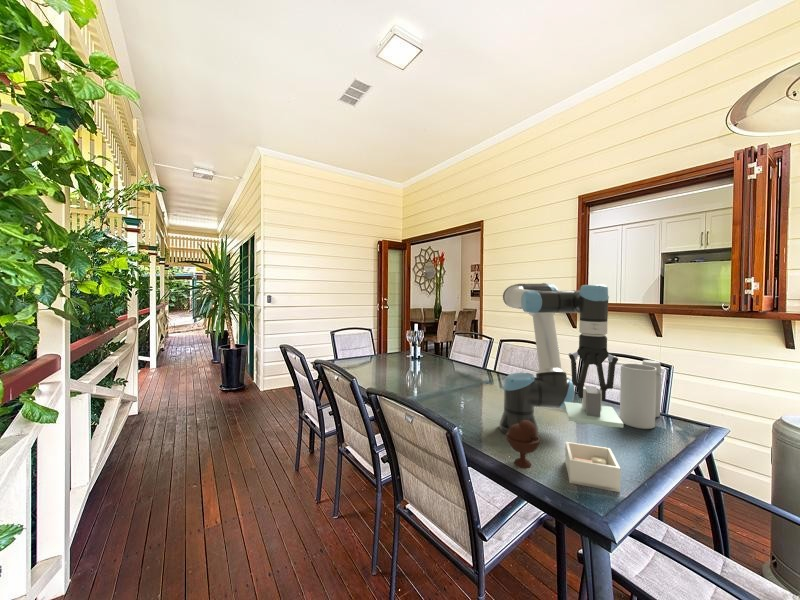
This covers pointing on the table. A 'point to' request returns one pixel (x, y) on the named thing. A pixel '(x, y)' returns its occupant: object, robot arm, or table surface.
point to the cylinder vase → (638, 395)
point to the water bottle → (658, 383)
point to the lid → (593, 411)
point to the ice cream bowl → (523, 441)
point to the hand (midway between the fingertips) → (591, 408)
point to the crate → (592, 466)
